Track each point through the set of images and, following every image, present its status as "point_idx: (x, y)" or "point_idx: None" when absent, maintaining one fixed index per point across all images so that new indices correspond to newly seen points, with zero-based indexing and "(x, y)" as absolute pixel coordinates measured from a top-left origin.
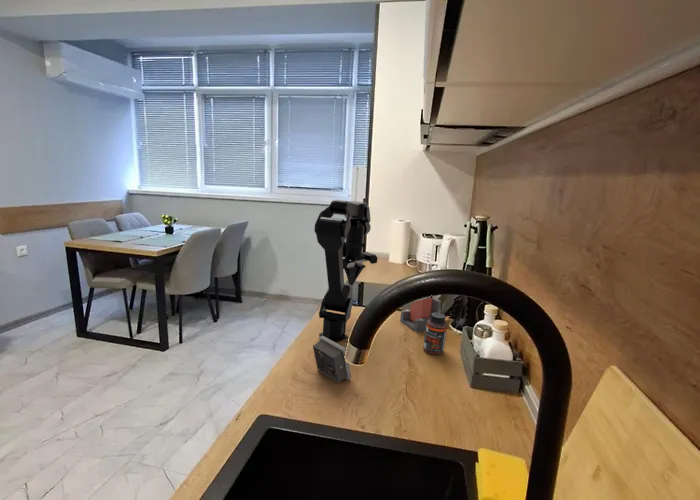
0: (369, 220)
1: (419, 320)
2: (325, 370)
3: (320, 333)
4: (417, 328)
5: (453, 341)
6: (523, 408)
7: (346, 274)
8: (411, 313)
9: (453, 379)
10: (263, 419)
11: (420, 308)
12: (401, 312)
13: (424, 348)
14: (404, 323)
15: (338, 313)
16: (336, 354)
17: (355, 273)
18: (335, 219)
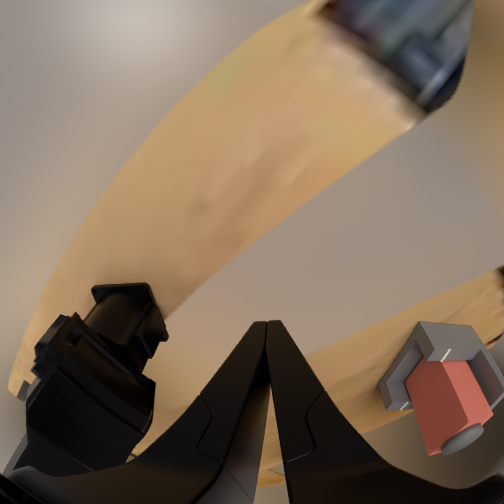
0: None
1: (392, 409)
2: None
3: (94, 289)
4: (382, 392)
5: (392, 419)
6: (282, 483)
7: (191, 408)
8: (435, 367)
9: (264, 461)
10: (29, 385)
11: (421, 420)
12: (430, 345)
13: None
14: (408, 342)
15: (115, 360)
16: None
17: (250, 492)
18: None
